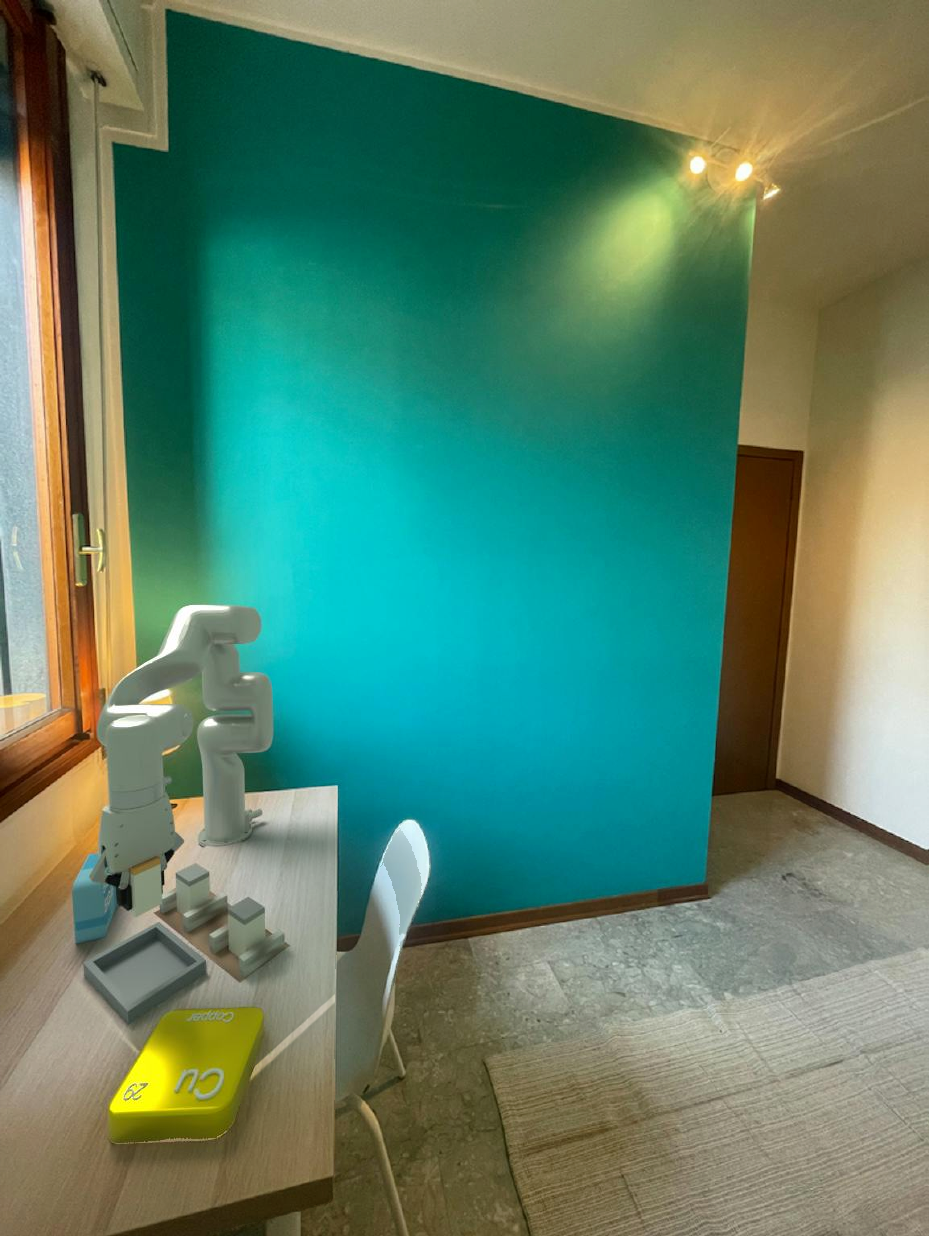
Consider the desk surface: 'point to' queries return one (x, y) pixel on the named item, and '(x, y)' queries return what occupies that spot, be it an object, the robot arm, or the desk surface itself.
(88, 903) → the data package
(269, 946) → the fuse board
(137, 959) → the tray
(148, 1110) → the element tile
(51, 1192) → the desk surface
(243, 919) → the block
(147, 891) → the block
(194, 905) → the block
